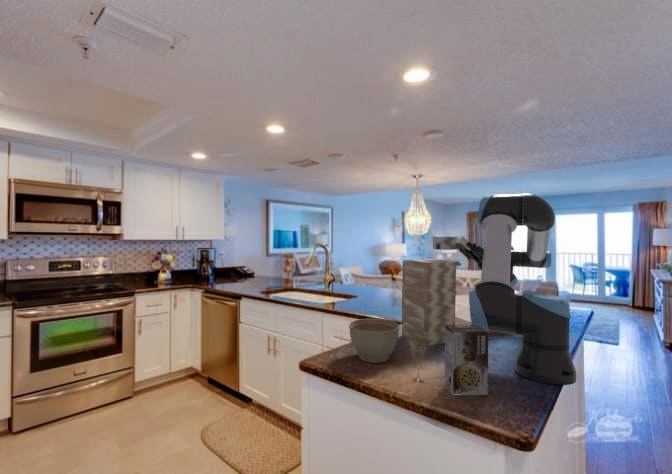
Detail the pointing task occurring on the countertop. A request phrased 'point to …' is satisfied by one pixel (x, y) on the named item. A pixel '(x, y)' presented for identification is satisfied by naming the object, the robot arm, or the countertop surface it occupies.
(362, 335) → the planter bowl
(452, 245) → the brown box and bar
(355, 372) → the countertop surface
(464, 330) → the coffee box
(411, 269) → the birch shelf
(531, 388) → the countertop surface
